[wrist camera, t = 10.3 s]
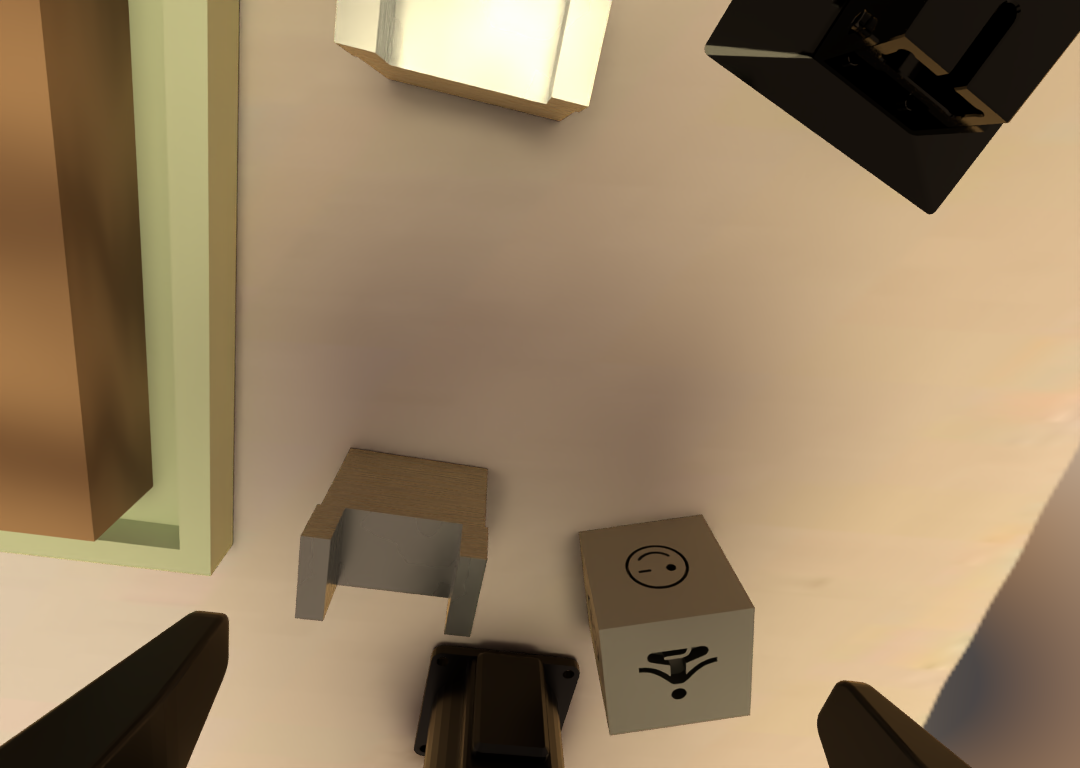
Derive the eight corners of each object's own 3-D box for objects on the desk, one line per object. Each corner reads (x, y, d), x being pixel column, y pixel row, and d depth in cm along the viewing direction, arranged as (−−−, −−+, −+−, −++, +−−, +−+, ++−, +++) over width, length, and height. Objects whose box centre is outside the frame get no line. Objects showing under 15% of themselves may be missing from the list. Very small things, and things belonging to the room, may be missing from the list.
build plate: (643, 50, 16) (693, 11, 12) (801, -236, 14) (934, -410, 10) (934, 259, 19) (1057, 287, 15) (1102, 51, 17) (1303, 14, 13)
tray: (232, 544, 21) (210, 576, 19) (0, 515, 20) (-44, 546, 18) (242, -252, 13) (205, -311, 11) (-156, -379, 12) (-260, -464, 10)
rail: (153, 486, 19) (94, 541, 16) (59, 473, 19) (-18, 528, 16) (120, -163, 13) (12, -254, 10) (-25, -205, 12) (-177, -311, 10)
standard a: (476, 534, 21) (470, 636, 17) (341, 516, 21) (294, 618, 16) (490, 469, 20) (487, 559, 16) (347, 447, 20) (300, 536, 15)
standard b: (563, 122, 16) (588, 106, 11) (384, 77, 15) (334, 42, 11) (587, 4, 15) (626, -66, 10) (397, -50, 14) (347, -151, 10)
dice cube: (701, 513, 22) (754, 607, 17) (701, 607, 24) (750, 715, 19) (578, 530, 22) (599, 629, 17) (589, 623, 24) (609, 735, 19)
